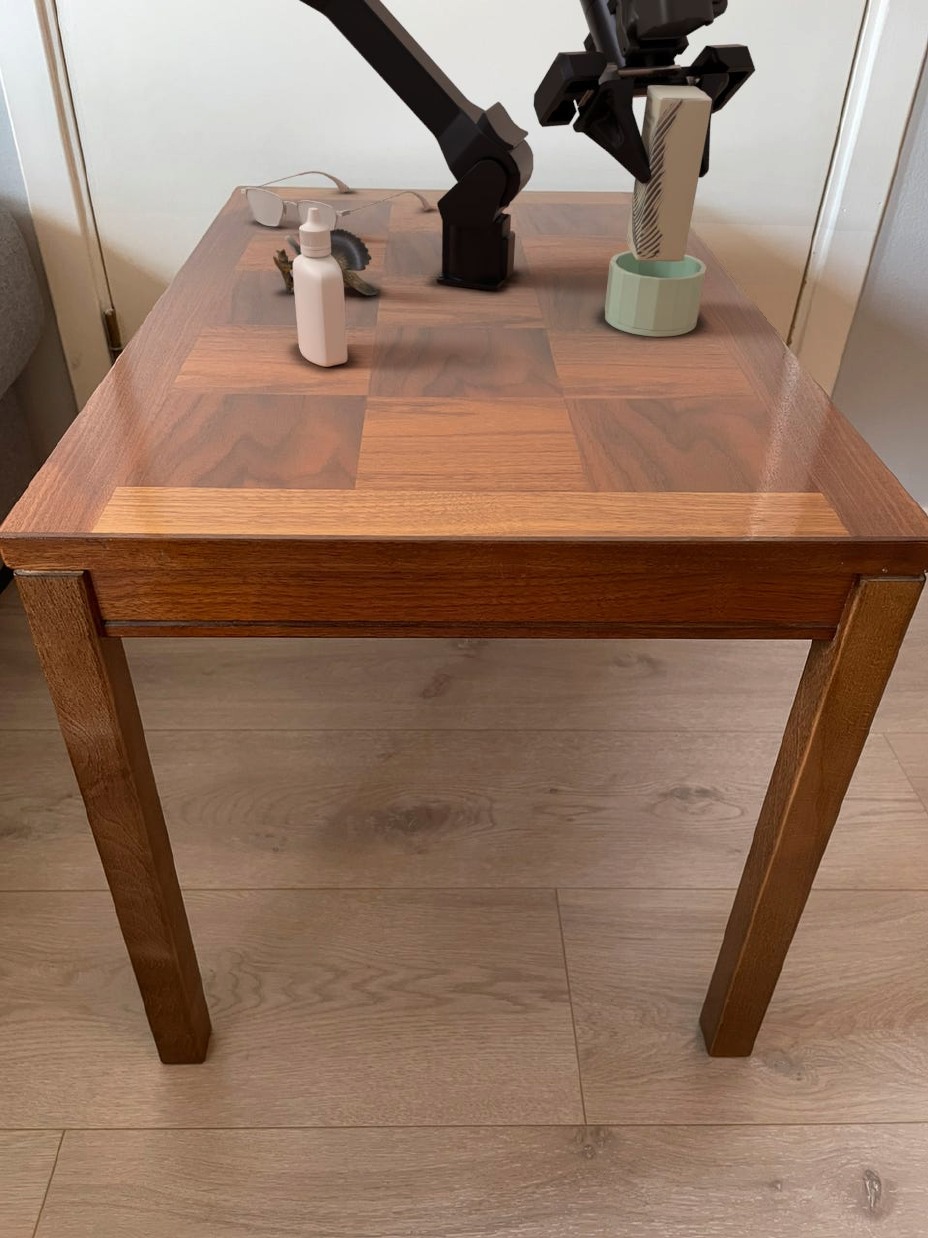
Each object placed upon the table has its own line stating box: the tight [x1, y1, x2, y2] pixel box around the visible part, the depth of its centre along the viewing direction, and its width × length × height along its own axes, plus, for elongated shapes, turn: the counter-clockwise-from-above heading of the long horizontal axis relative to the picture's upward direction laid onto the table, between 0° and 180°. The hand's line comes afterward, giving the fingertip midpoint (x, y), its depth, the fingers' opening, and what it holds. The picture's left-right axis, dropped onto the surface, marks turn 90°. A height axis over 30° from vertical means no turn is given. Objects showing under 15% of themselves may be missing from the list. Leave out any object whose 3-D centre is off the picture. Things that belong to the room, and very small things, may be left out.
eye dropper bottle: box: [292, 208, 349, 368], centre depth 80 cm, size 4×6×12 cm
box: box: [626, 85, 712, 261], centre depth 82 cm, size 5×4×13 cm
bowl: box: [604, 250, 708, 338], centre depth 90 cm, size 9×9×5 cm
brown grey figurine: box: [272, 228, 378, 297], centre depth 94 cm, size 8×7×9 cm
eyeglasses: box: [240, 170, 432, 230], centre depth 116 cm, size 15×18×4 cm
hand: (675, 177), depth 81 cm, fingers closed on box, 5 cm apart
